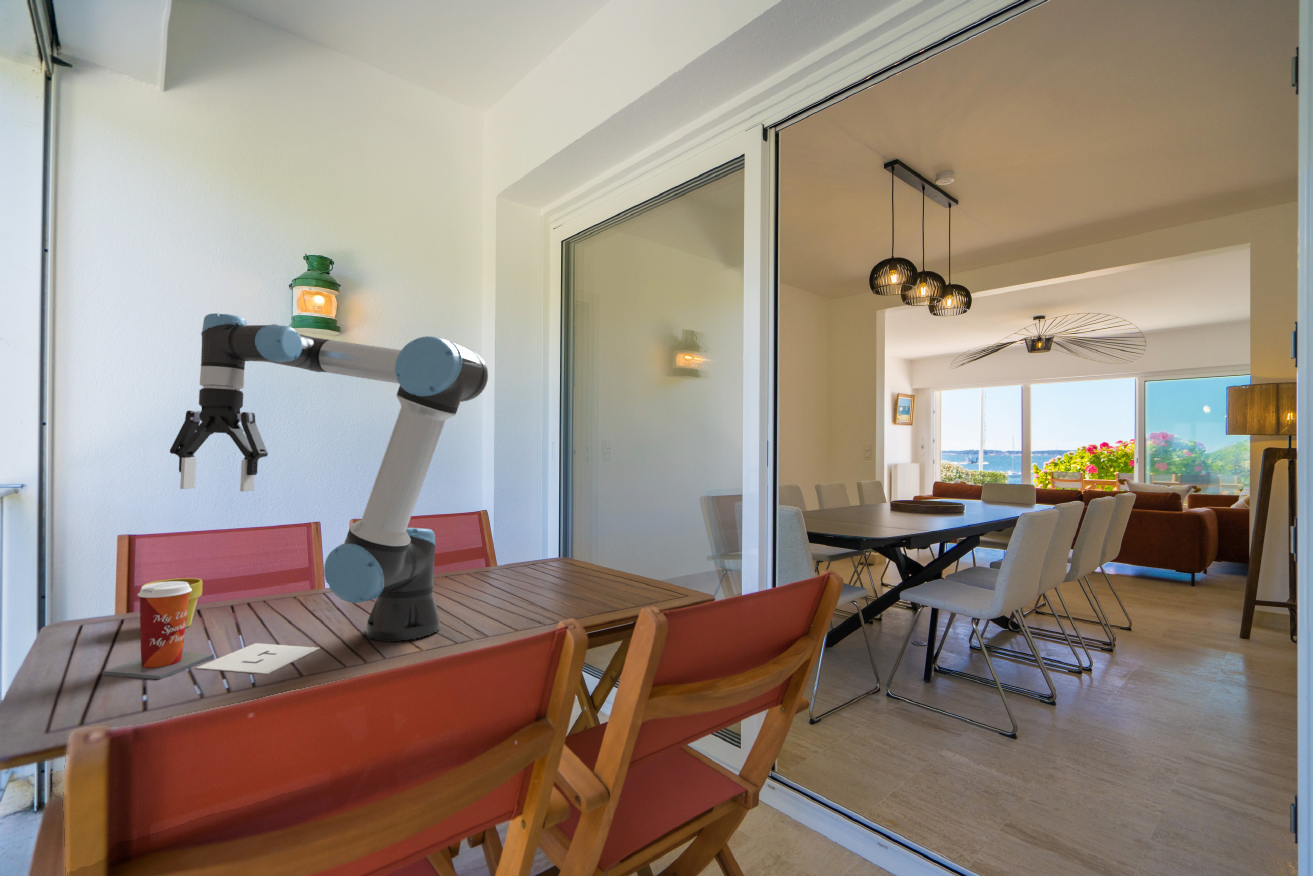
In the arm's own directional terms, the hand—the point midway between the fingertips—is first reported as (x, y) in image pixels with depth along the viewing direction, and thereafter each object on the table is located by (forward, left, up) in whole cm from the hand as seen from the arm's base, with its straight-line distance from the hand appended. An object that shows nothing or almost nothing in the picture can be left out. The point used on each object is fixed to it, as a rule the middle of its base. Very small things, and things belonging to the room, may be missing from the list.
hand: (217, 489), depth 126 cm
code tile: (-19, +9, -31) cm, 37 cm away
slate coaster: (-5, +16, -31) cm, 35 cm away
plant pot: (+13, -4, -31) cm, 34 cm away
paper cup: (-5, +16, -30) cm, 35 cm away
